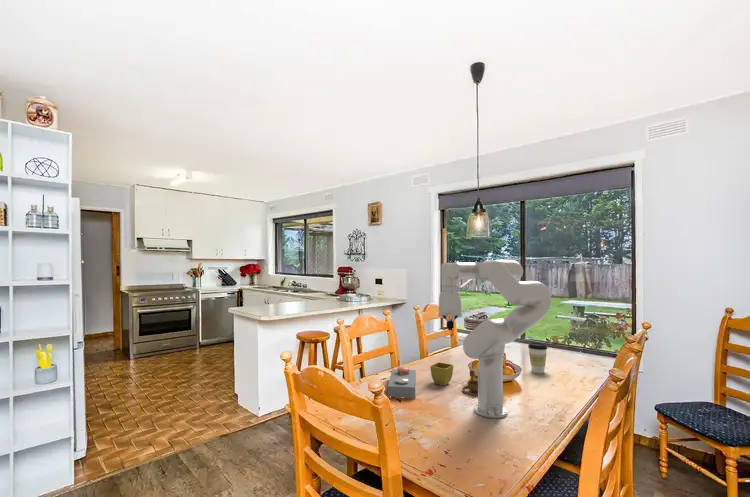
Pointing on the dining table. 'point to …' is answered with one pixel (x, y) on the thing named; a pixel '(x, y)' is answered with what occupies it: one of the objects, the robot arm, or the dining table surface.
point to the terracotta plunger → (403, 370)
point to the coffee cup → (537, 356)
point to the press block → (402, 385)
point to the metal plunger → (402, 380)
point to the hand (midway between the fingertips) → (450, 329)
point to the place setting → (471, 385)
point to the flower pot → (441, 373)
